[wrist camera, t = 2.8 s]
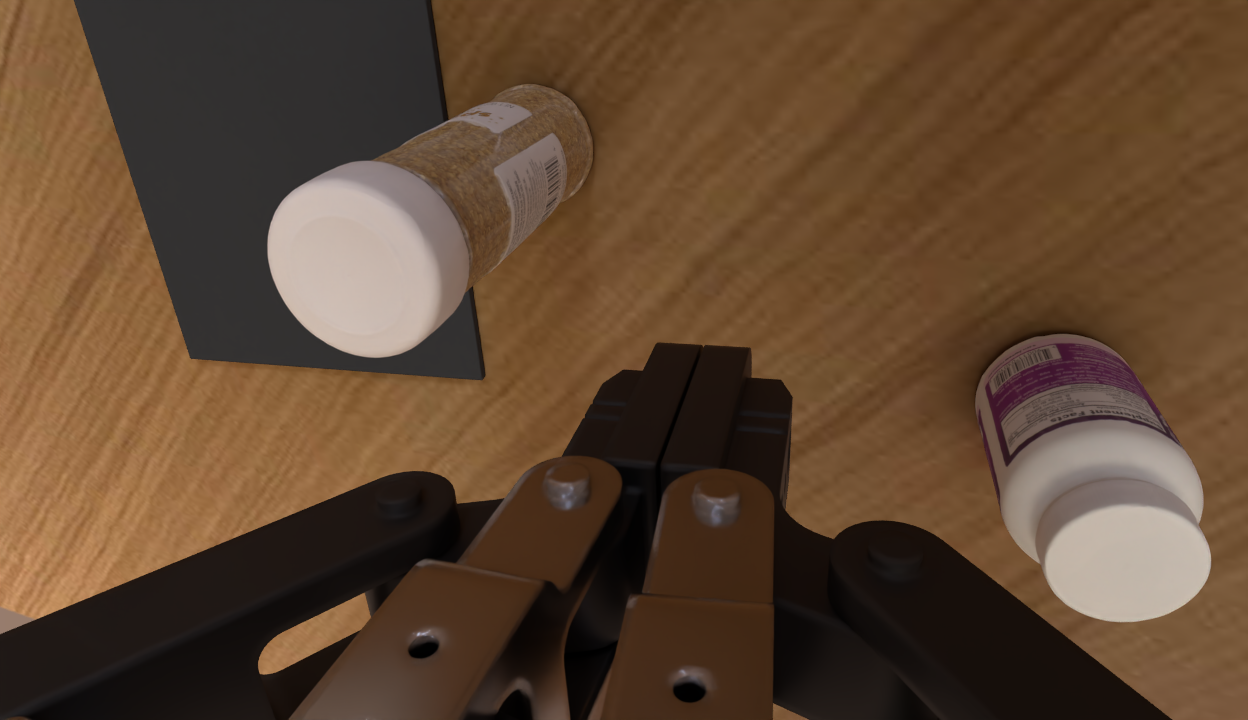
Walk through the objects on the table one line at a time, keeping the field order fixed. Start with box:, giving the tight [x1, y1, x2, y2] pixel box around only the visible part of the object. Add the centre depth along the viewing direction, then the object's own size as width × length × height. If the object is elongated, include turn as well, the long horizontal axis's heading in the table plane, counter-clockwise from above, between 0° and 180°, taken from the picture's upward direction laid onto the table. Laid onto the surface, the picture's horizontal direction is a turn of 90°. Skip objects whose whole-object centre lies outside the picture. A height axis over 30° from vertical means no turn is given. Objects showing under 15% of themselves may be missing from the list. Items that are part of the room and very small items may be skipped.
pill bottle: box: [975, 334, 1211, 622], centre depth 26 cm, size 5×5×10 cm
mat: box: [74, 0, 485, 380], centre depth 33 cm, size 20×15×1 cm
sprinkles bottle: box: [267, 84, 593, 358], centre depth 25 cm, size 5×5×13 cm
